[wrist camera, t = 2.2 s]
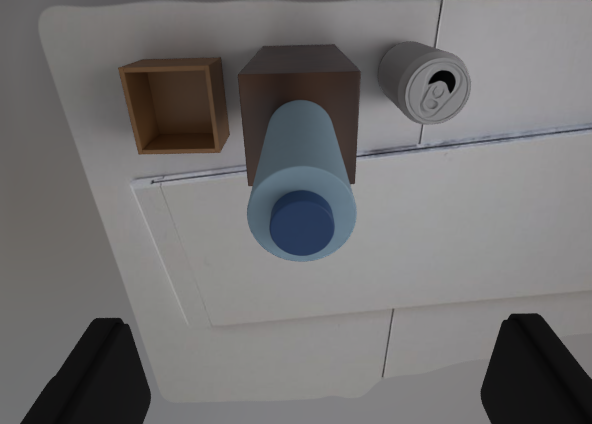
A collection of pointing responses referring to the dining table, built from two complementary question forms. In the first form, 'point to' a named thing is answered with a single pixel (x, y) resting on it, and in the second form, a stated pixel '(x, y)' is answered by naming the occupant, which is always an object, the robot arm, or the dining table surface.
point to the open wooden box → (176, 105)
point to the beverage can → (424, 82)
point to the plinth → (299, 95)
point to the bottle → (301, 186)
